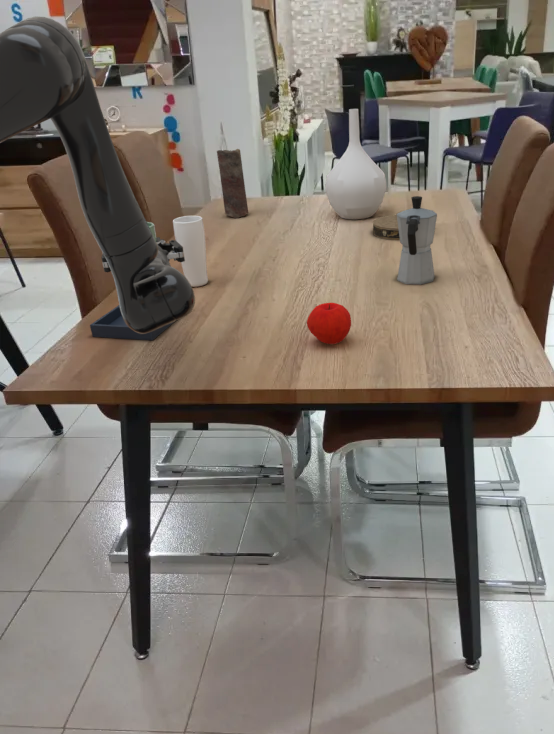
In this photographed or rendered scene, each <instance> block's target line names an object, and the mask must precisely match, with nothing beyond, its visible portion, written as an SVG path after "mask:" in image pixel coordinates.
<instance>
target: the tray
mask: <svg viewBox="0 0 554 734" xmlns="http://www.w3.org/2000/svg"><path fill="white" fill-rule="evenodd" d="M175 322H176V321H174V322H172V323H170V324H168V325H165V326H163V327H161V328H159V329H156V330H154V331H152V332H149V333H146V334H140V333H137V332H135V331H133V330H132V329H130V328H129V327H128V326H127V324H126V323H125V321H124V319H123V317H122V314H121V310H120V306H119V304H118V305H116V306H115V307H114V308H112V309H111V310H109V311H108V312H107V313H105V314H104V315H102V316H100V317H99V318H98V319H96V320H95V321H94V322H91V324H89V328H90V331H91V336H92V337H93V338H105V339H106V338H108V339H121V340H123V339H124V340H140V341H154V340H155V339H156V338H157V337H159V335H161V334H162V333H163V332H165V331H166V330H167V329H168V328H170V326H172V325H173V324H174V323H175Z"/></svg>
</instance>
